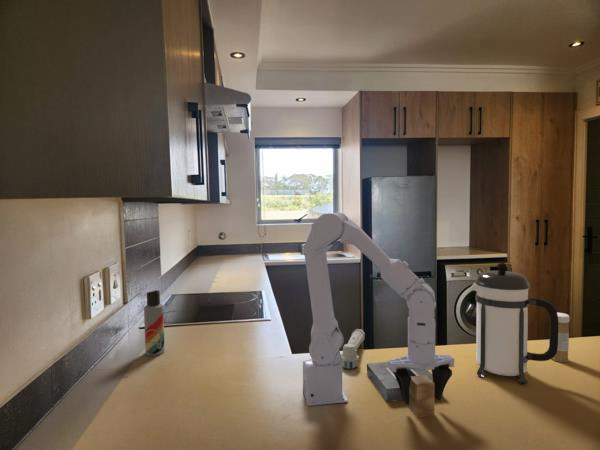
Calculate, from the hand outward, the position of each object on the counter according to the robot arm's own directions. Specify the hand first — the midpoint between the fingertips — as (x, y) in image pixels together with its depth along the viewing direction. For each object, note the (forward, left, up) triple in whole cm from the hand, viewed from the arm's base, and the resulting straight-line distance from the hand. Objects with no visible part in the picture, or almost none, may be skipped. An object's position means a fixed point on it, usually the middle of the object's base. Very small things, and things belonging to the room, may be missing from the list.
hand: (421, 400), depth 81 cm
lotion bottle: (-67, +46, -3) cm, 81 cm away
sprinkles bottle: (+52, +18, -3) cm, 55 cm away
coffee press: (+31, +13, -3) cm, 34 cm away
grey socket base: (+1, +12, -2) cm, 12 cm away
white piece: (-5, +34, -3) cm, 35 cm away
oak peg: (0, 0, -2) cm, 2 cm away
